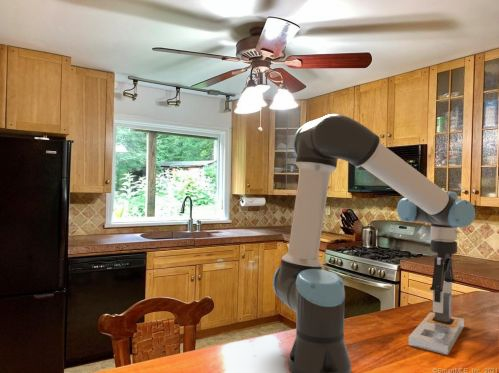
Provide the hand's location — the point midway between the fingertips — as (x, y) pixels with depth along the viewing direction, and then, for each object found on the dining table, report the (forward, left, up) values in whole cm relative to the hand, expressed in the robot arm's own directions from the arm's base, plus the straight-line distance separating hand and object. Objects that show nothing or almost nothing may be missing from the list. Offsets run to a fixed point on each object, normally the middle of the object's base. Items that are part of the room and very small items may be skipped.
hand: (442, 306), depth 119 cm
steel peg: (0, 0, -7) cm, 7 cm away
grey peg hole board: (0, -7, -7) cm, 10 cm away
